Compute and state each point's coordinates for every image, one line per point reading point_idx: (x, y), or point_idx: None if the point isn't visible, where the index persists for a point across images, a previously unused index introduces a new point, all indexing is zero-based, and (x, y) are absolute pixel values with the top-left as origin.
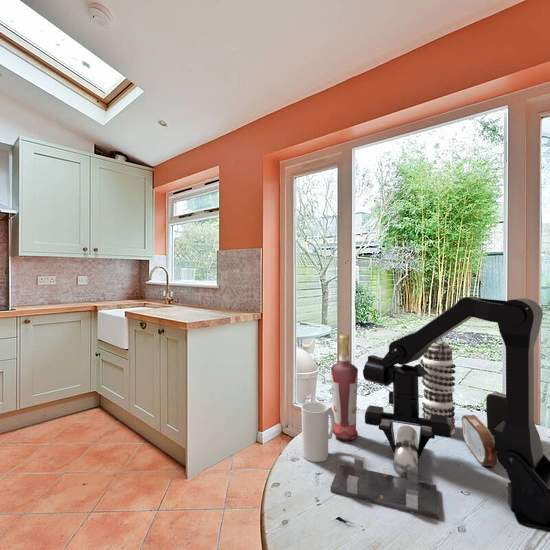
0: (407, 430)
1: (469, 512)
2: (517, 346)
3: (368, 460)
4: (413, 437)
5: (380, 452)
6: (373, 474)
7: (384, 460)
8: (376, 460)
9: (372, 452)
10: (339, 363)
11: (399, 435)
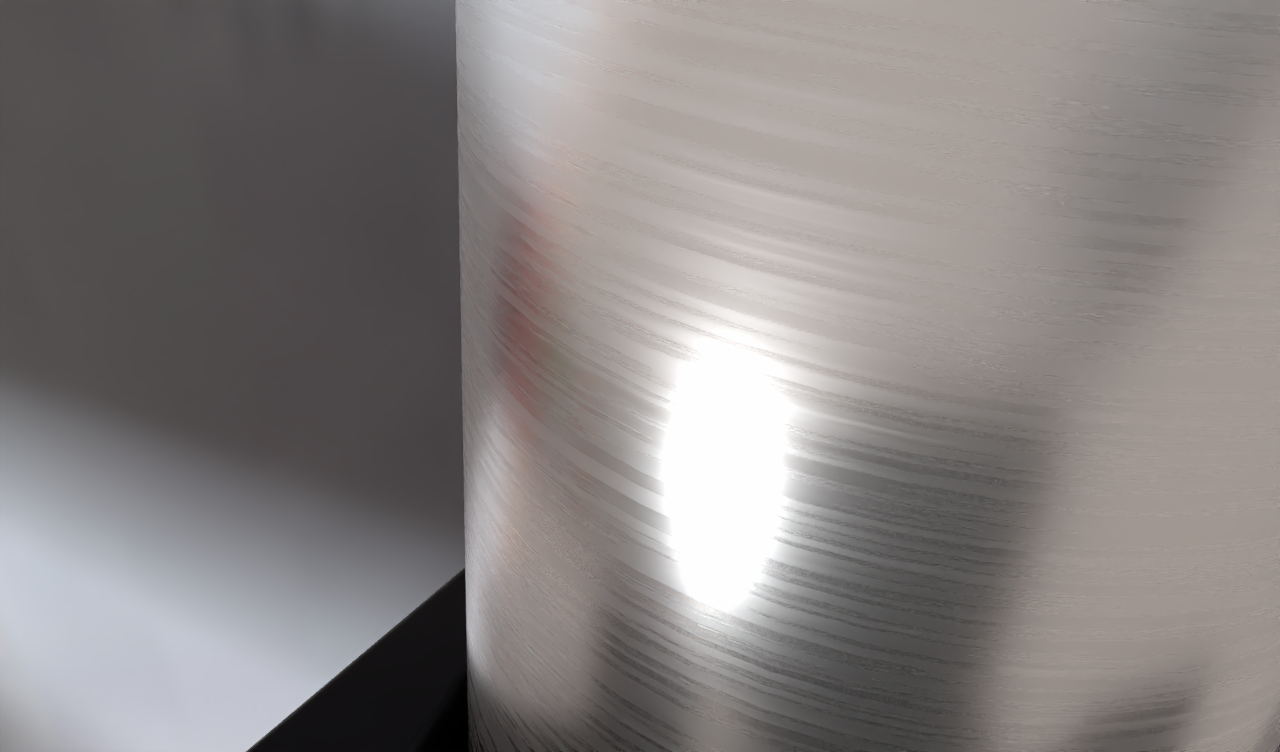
0: (1112, 334)
1: None
2: None
3: (53, 700)
4: (1261, 729)
5: (173, 372)
6: None
7: (329, 651)
8: (185, 676)
9: (7, 416)
10: None
11: (550, 636)
